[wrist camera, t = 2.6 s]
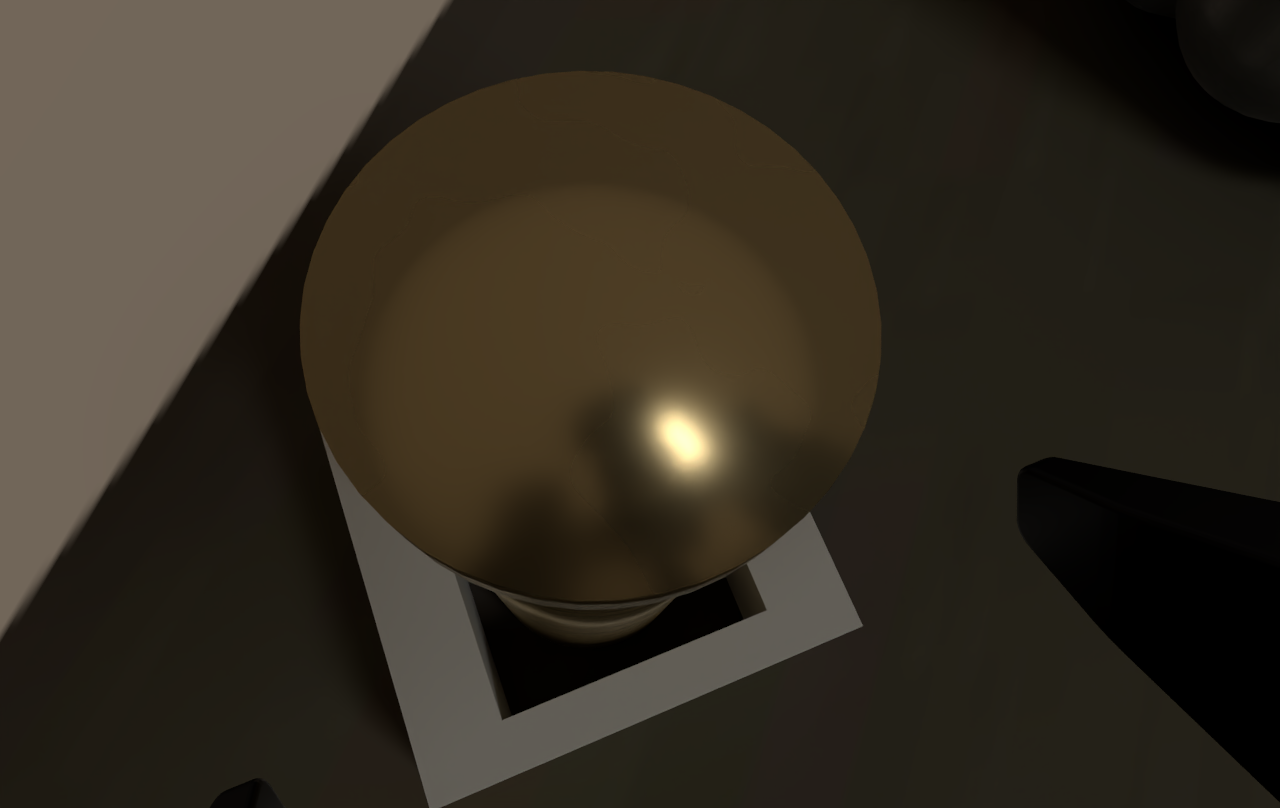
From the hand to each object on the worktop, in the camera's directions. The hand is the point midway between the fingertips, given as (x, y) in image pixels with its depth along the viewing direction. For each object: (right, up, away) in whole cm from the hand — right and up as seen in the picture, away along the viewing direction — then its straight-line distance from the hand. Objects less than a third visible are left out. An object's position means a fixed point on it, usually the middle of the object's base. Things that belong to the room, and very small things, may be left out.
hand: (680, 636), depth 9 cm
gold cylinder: (-2, -1, +10) cm, 10 cm away
